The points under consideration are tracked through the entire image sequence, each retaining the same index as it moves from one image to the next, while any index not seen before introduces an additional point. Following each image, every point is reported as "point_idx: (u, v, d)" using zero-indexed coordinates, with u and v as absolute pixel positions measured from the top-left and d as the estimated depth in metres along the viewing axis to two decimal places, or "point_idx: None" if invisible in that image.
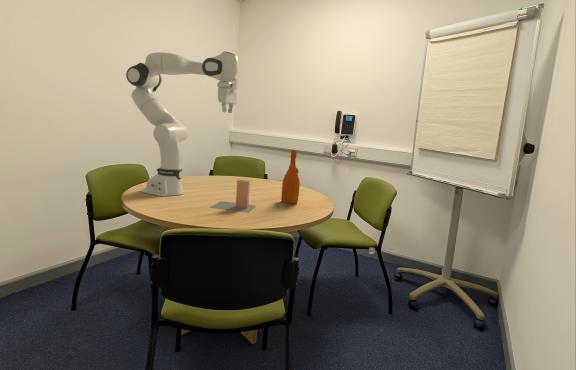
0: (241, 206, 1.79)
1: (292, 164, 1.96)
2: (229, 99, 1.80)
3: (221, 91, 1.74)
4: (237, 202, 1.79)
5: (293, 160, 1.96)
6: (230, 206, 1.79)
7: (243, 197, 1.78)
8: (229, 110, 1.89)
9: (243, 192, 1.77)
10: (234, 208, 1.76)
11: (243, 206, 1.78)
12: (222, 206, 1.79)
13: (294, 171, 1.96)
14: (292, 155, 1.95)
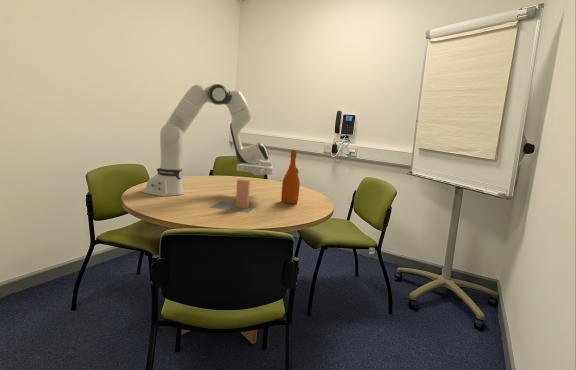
0: (241, 206, 1.79)
1: (292, 164, 1.96)
2: None
3: None
4: (237, 202, 1.79)
5: (293, 160, 1.96)
6: (230, 206, 1.79)
7: (243, 197, 1.78)
8: (244, 169, 1.90)
9: (243, 192, 1.77)
10: (234, 208, 1.76)
11: (243, 206, 1.78)
12: (222, 206, 1.79)
13: (294, 171, 1.96)
14: (292, 155, 1.95)
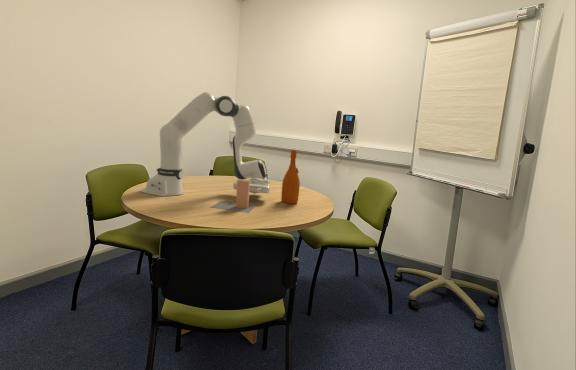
0: (241, 206, 1.79)
1: (292, 164, 1.96)
2: None
3: None
4: (237, 202, 1.79)
5: (293, 160, 1.96)
6: (230, 206, 1.79)
7: (243, 197, 1.78)
8: None
9: (243, 192, 1.77)
10: (234, 208, 1.76)
11: (243, 206, 1.78)
12: (222, 206, 1.79)
13: (294, 171, 1.96)
14: (292, 155, 1.95)
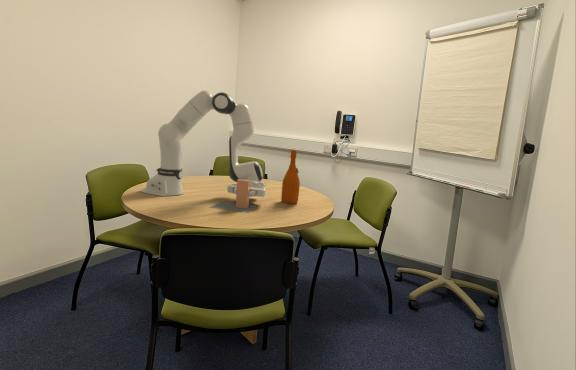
0: (241, 206, 1.79)
1: (292, 164, 1.96)
2: None
3: (265, 190, 1.86)
4: (237, 202, 1.79)
5: (293, 160, 1.96)
6: (230, 206, 1.79)
7: (243, 197, 1.78)
8: None
9: (243, 192, 1.77)
10: (234, 208, 1.76)
11: (243, 206, 1.78)
12: (222, 206, 1.79)
13: (294, 171, 1.96)
14: (292, 155, 1.95)
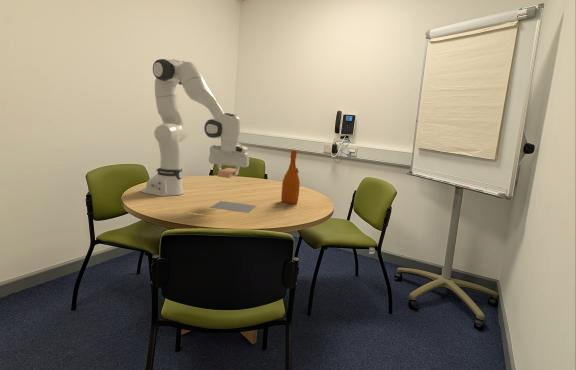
0: None
1: (292, 164, 1.96)
2: None
3: (247, 156, 1.73)
4: None
5: (293, 160, 1.96)
6: (230, 206, 1.79)
7: None
8: None
9: None
10: (234, 208, 1.76)
11: None
12: (222, 206, 1.79)
13: (294, 171, 1.96)
14: (292, 155, 1.95)
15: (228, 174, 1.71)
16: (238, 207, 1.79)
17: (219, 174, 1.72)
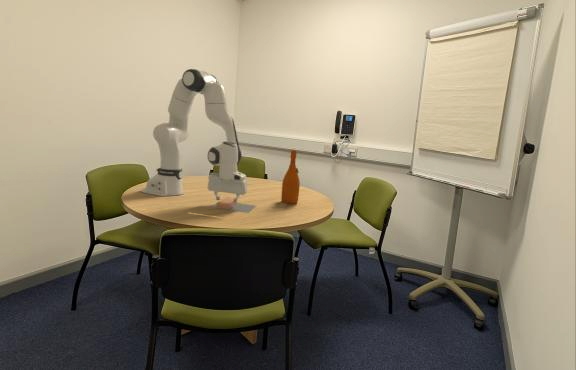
0: None
1: (292, 164, 1.96)
2: None
3: (245, 184, 1.76)
4: None
5: (293, 160, 1.96)
6: None
7: None
8: (219, 197, 1.80)
9: None
10: (234, 208, 1.76)
11: None
12: None
13: (294, 171, 1.96)
14: (292, 155, 1.95)
15: (226, 205, 1.74)
16: (238, 207, 1.79)
17: (218, 205, 1.74)
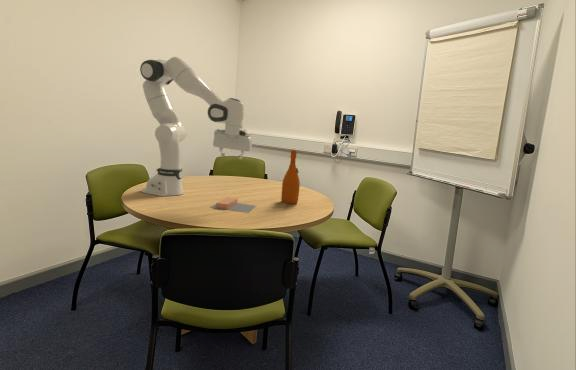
0: None
1: (292, 164, 1.96)
2: None
3: (250, 140, 1.79)
4: None
5: (293, 160, 1.96)
6: None
7: None
8: (224, 154, 1.83)
9: None
10: (234, 208, 1.76)
11: None
12: None
13: (294, 171, 1.96)
14: (292, 155, 1.95)
15: (226, 205, 1.74)
16: (238, 207, 1.79)
17: (218, 205, 1.74)
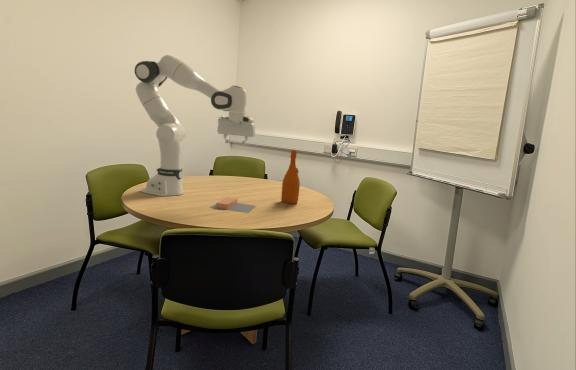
0: None
1: (292, 164, 1.96)
2: None
3: (253, 126, 1.85)
4: None
5: (293, 160, 1.96)
6: None
7: None
8: (228, 141, 1.89)
9: None
10: (234, 208, 1.76)
11: None
12: None
13: (294, 171, 1.96)
14: (292, 155, 1.95)
15: (226, 205, 1.74)
16: (238, 207, 1.79)
17: (218, 205, 1.74)
